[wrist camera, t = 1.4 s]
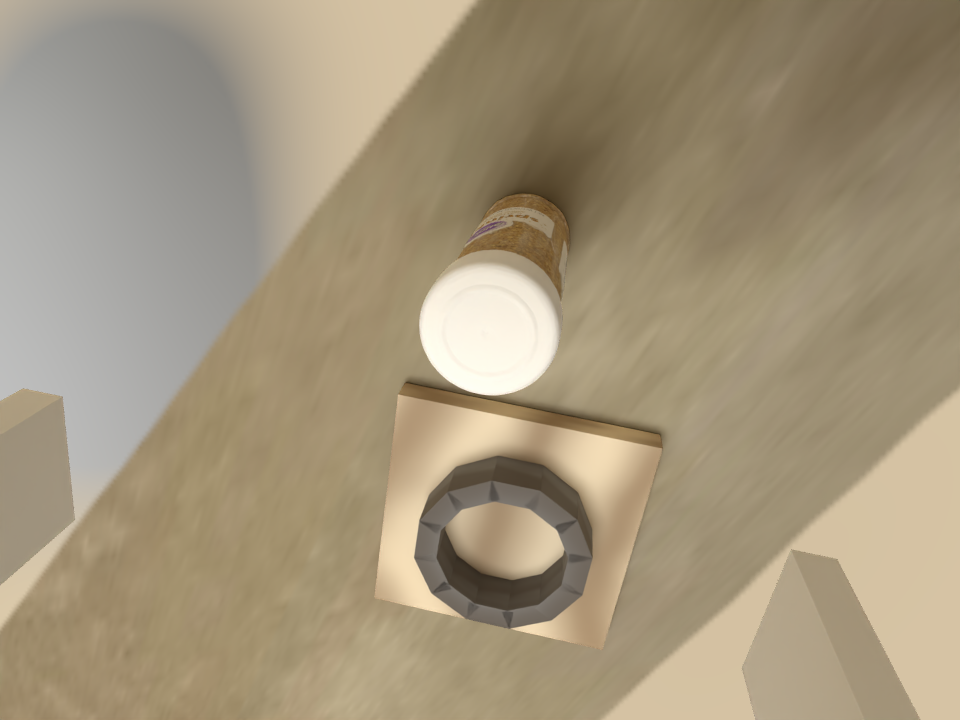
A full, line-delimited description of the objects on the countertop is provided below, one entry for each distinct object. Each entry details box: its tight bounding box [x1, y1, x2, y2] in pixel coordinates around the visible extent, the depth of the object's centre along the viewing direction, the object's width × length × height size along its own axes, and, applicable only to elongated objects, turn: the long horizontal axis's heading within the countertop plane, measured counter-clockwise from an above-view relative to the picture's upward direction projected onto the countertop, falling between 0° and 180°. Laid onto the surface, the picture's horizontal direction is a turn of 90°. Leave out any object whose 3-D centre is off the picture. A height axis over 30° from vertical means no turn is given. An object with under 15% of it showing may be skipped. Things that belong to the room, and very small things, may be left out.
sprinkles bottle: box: [419, 194, 570, 395], centre depth 28 cm, size 5×5×13 cm
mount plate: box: [374, 383, 663, 650], centre depth 38 cm, size 14×14×4 cm
